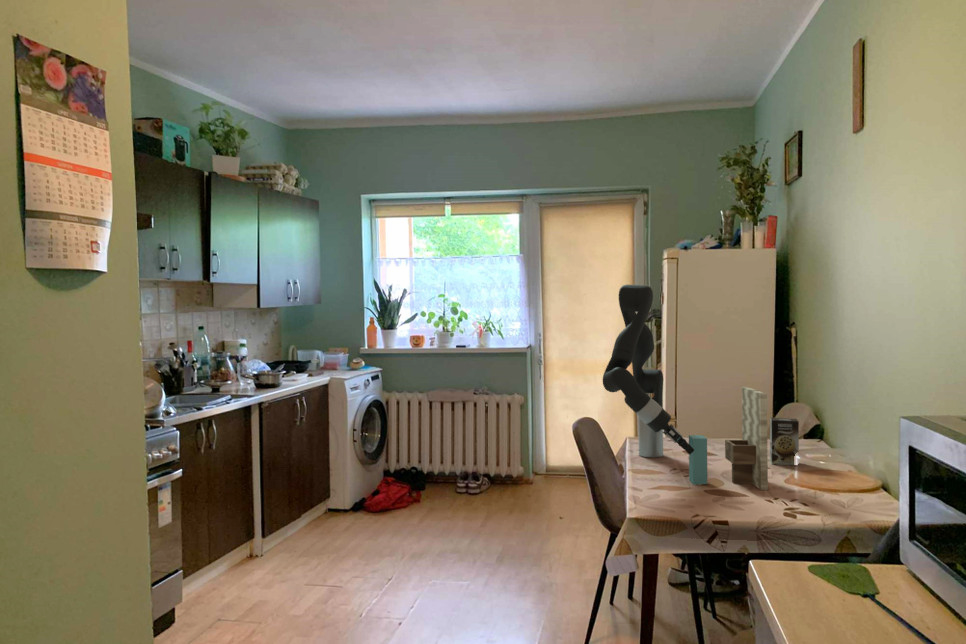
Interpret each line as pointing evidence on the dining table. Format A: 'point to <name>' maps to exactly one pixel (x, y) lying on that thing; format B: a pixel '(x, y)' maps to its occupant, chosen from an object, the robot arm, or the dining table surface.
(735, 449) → the ledge stand with backboard
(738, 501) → the dining table surface
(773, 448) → the coffee box
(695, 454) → the chunky teal box
